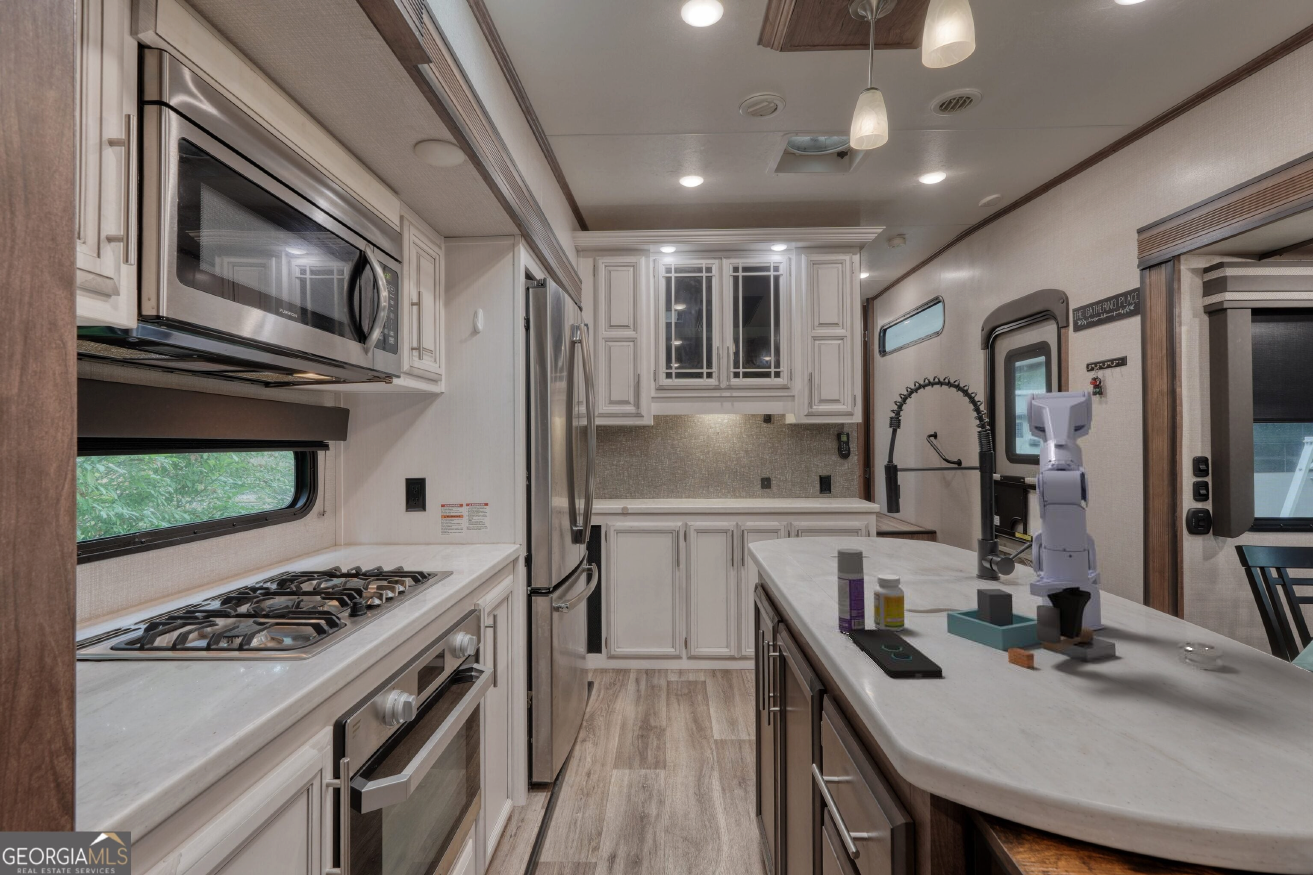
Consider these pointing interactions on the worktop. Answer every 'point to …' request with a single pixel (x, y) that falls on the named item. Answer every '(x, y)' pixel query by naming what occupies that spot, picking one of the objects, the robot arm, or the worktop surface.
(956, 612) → the tray
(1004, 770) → the worktop surface
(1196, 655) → the metal wheel
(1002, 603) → the block
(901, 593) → the supplement bottle
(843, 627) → the container
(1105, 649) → the wooden and grey pieces
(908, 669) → the black flat panel
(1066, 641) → the crank lever
